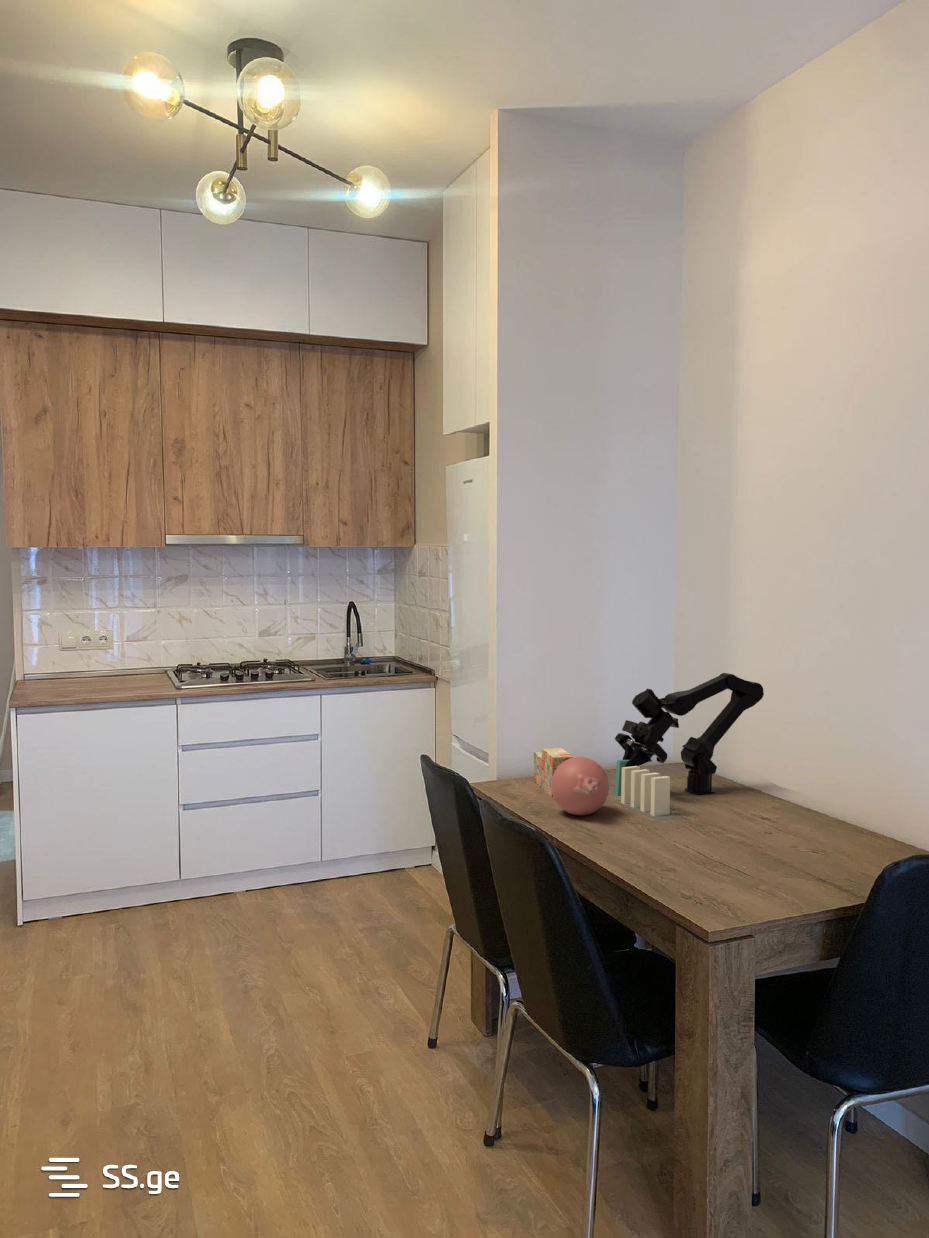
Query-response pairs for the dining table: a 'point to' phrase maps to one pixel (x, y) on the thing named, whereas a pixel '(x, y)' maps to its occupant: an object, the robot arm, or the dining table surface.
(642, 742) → the robot arm
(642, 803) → the domino
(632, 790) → the domino
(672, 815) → the domino mat
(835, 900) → the dining table surface
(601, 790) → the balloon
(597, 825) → the dining table surface
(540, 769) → the stack of blocks
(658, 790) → the domino
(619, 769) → the teal domino
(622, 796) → the domino
